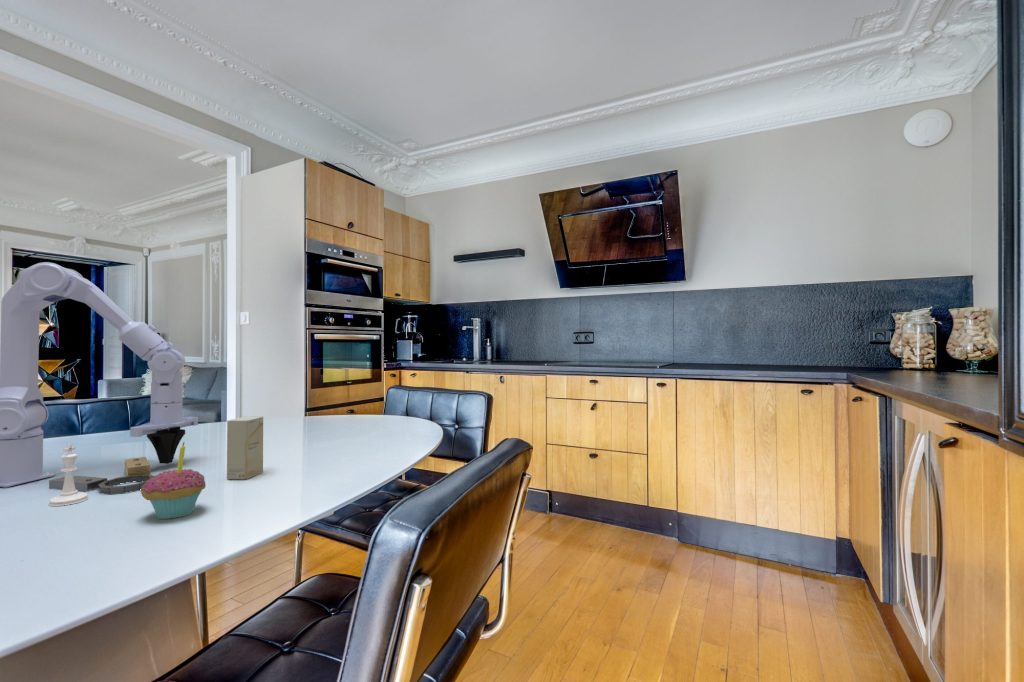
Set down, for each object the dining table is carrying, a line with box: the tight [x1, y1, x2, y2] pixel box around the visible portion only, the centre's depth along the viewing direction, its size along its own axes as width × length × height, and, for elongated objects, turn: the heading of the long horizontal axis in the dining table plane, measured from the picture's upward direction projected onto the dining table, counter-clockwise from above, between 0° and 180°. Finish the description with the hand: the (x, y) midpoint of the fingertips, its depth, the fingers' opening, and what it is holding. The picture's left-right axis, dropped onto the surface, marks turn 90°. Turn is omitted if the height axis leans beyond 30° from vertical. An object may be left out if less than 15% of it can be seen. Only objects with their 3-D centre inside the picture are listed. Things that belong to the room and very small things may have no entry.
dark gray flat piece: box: [48, 474, 155, 495], centre depth 88 cm, size 18×8×2 cm, turn 79°
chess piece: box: [48, 443, 89, 507], centre depth 80 cm, size 5×5×10 cm
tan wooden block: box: [124, 456, 151, 476], centre depth 96 cm, size 9×4×2 cm, turn 43°
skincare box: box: [226, 415, 264, 480], centre depth 96 cm, size 6×4×12 cm
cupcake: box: [140, 441, 207, 520], centre depth 74 cm, size 9×8×12 cm
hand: (165, 462), depth 102 cm, fingers closed
